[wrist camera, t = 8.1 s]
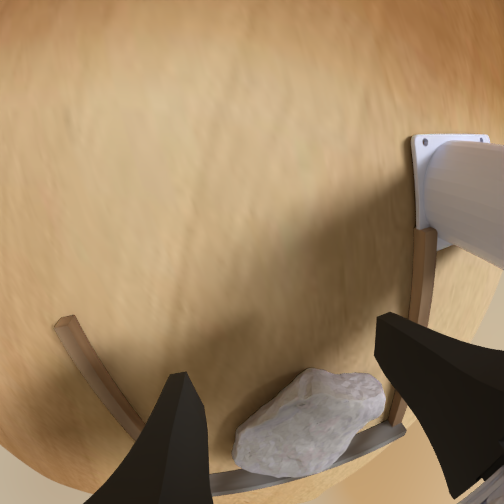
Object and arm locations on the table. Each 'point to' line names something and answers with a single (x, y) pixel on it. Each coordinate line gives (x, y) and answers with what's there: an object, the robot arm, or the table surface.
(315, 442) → the stone block
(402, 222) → the table surface
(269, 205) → the table surface
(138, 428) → the u-shaped frame
